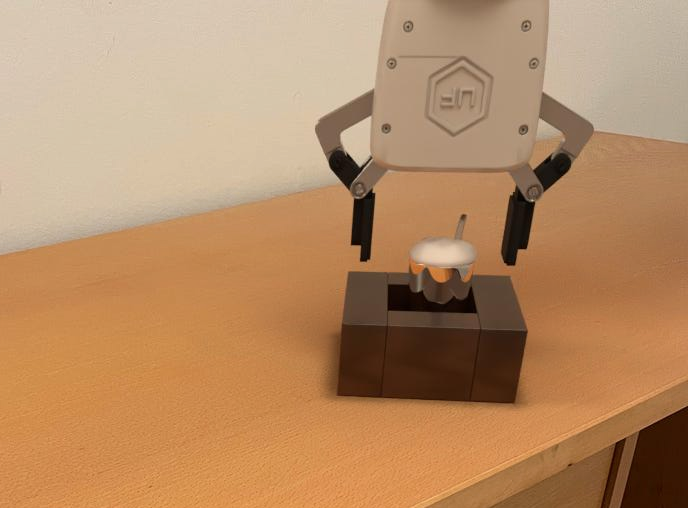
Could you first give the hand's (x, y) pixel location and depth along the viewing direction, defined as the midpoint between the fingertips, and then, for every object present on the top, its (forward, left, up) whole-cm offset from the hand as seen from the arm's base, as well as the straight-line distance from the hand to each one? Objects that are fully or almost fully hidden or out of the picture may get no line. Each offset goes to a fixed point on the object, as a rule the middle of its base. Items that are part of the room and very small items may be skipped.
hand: (435, 258), depth 67 cm
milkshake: (-1, 0, -8) cm, 8 cm away
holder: (0, 0, -8) cm, 8 cm away
